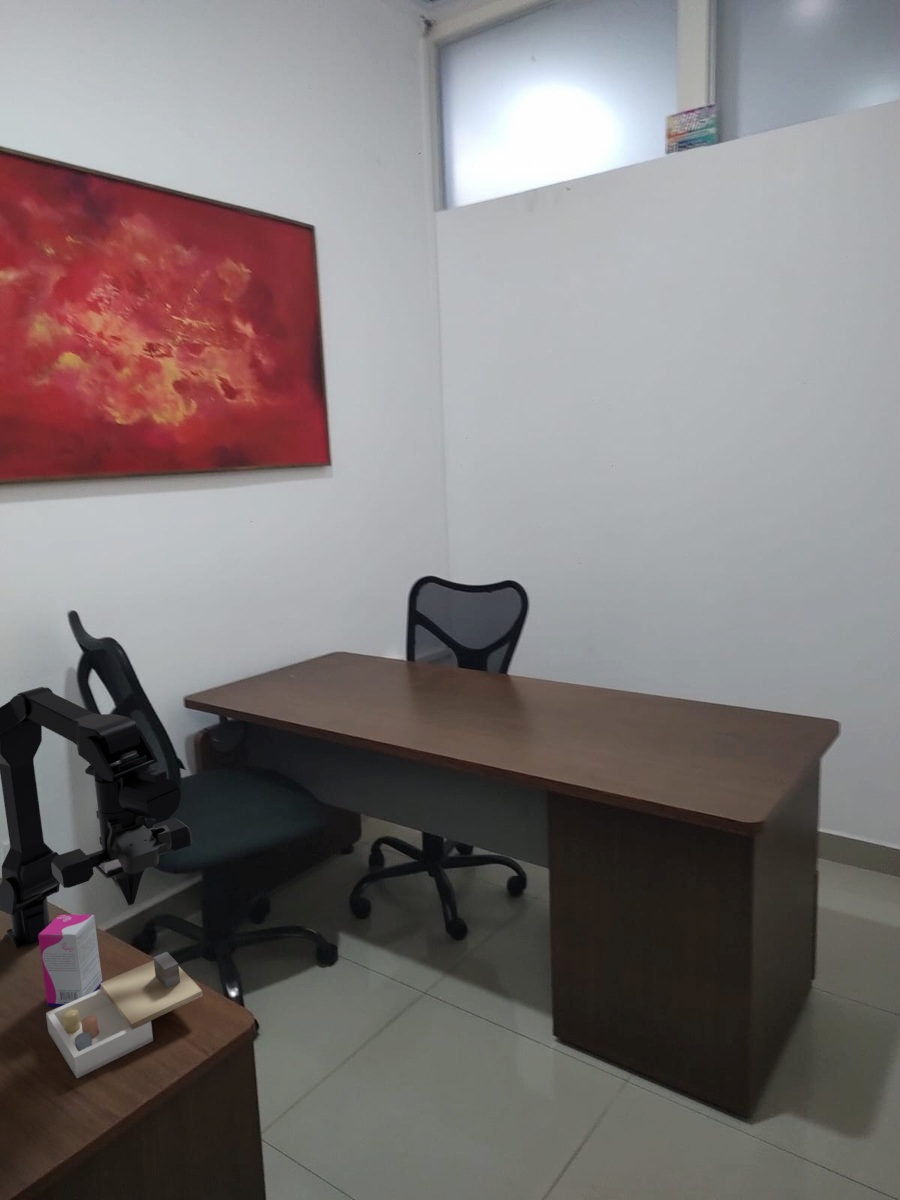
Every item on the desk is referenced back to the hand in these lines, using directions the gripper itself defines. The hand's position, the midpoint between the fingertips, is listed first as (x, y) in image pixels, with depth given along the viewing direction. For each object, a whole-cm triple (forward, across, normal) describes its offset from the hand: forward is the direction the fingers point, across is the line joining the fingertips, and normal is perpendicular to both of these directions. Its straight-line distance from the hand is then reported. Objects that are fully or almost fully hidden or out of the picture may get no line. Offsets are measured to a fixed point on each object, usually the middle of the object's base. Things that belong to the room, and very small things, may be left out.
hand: (130, 904), depth 124 cm
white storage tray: (+13, -8, -8) cm, 17 cm away
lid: (+10, -1, -8) cm, 13 cm away
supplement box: (+13, -8, +4) cm, 16 cm away
